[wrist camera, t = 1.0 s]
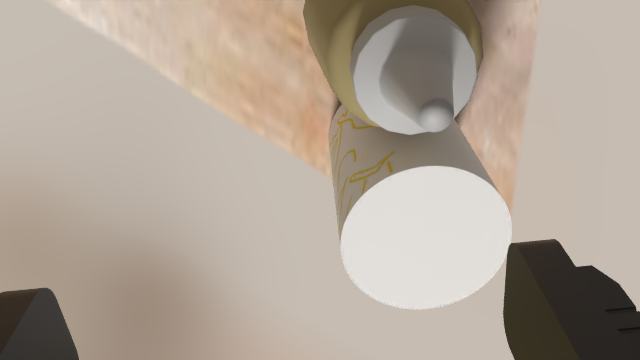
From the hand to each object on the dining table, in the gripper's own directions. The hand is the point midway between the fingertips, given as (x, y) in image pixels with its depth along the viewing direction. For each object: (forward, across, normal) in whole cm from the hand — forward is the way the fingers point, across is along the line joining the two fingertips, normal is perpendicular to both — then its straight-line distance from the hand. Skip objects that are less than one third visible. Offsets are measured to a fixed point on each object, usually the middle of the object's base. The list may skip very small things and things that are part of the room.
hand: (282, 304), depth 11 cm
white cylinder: (+27, -5, +10) cm, 29 cm away
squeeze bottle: (+27, -4, +1) cm, 28 cm away
